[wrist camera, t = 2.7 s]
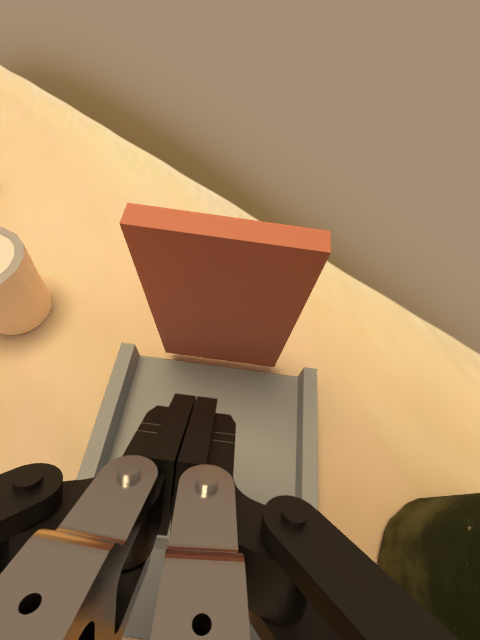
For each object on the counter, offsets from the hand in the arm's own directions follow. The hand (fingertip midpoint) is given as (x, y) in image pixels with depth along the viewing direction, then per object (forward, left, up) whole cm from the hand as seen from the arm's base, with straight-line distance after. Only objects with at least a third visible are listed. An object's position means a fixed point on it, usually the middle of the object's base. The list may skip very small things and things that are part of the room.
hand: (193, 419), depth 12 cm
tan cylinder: (+14, -17, -16) cm, 27 cm away
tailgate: (-3, -8, -13) cm, 16 cm away
